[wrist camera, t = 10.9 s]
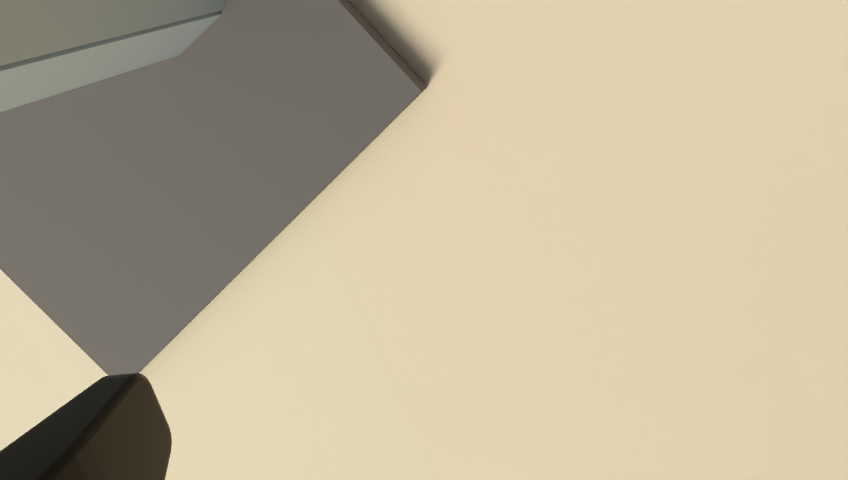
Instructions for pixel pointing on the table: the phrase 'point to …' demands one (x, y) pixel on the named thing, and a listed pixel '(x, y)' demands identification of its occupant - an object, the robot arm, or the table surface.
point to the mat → (187, 168)
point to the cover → (90, 41)
